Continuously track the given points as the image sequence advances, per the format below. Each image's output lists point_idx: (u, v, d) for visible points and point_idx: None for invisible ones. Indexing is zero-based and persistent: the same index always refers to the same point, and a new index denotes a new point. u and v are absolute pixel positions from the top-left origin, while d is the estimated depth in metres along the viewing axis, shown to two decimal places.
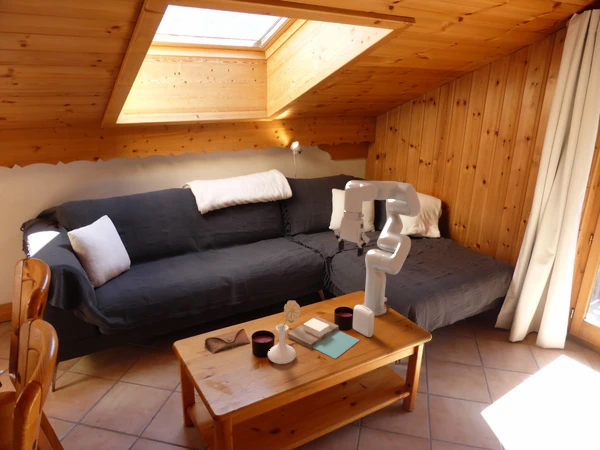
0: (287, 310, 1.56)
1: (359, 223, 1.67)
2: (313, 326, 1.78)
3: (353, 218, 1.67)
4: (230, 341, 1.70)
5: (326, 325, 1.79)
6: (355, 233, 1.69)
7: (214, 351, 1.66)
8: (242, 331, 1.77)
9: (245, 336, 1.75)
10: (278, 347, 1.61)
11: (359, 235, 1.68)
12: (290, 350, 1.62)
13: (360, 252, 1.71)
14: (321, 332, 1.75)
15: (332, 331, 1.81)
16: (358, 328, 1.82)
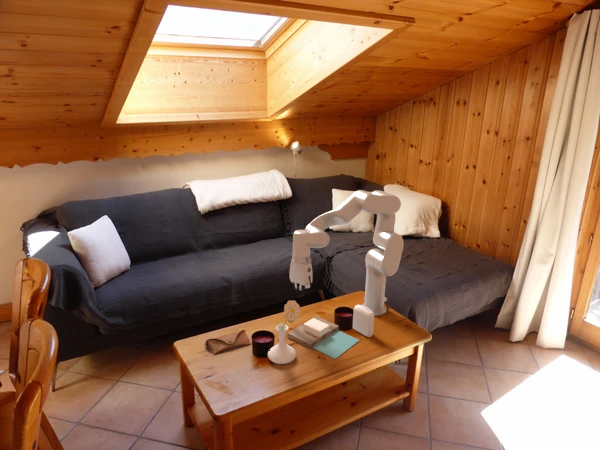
0: (287, 310, 1.56)
1: (306, 267, 1.74)
2: (313, 326, 1.78)
3: (300, 262, 1.73)
4: (231, 342, 1.69)
5: (326, 325, 1.79)
6: (303, 276, 1.75)
7: (215, 352, 1.65)
8: (243, 332, 1.76)
9: (246, 337, 1.74)
10: (278, 347, 1.61)
11: (306, 279, 1.75)
12: (290, 350, 1.62)
13: (300, 294, 1.80)
14: (321, 332, 1.75)
15: (332, 331, 1.81)
16: (358, 328, 1.82)
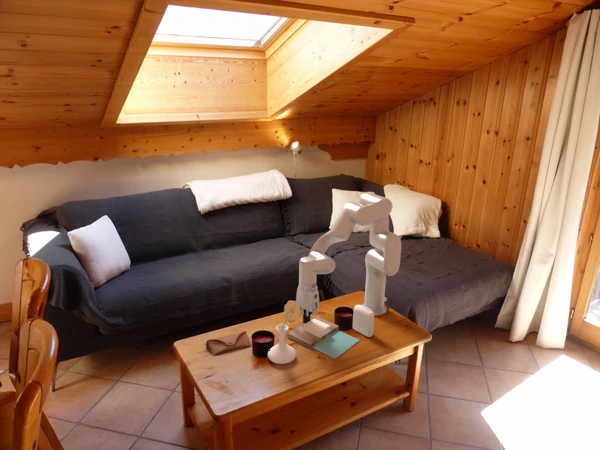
0: (287, 310, 1.56)
1: (313, 294, 1.75)
2: (314, 326, 1.77)
3: (307, 289, 1.74)
4: (231, 344, 1.68)
5: (327, 325, 1.78)
6: (309, 303, 1.76)
7: (214, 353, 1.65)
8: (244, 334, 1.75)
9: (247, 339, 1.73)
10: (278, 347, 1.61)
11: (313, 305, 1.76)
12: (290, 350, 1.62)
13: (307, 320, 1.81)
14: (322, 332, 1.75)
15: (332, 331, 1.81)
16: (358, 328, 1.82)
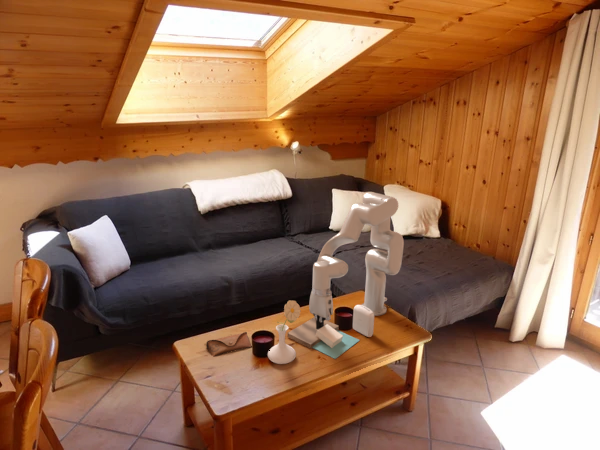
0: (287, 310, 1.56)
1: (327, 300, 1.70)
2: (327, 335, 1.73)
3: (321, 295, 1.70)
4: (231, 344, 1.68)
5: (340, 335, 1.74)
6: (323, 309, 1.71)
7: (214, 354, 1.64)
8: (244, 335, 1.74)
9: (247, 340, 1.72)
10: (278, 347, 1.61)
11: (327, 311, 1.71)
12: (290, 350, 1.62)
13: (320, 326, 1.77)
14: (334, 343, 1.71)
15: None
16: (358, 328, 1.82)
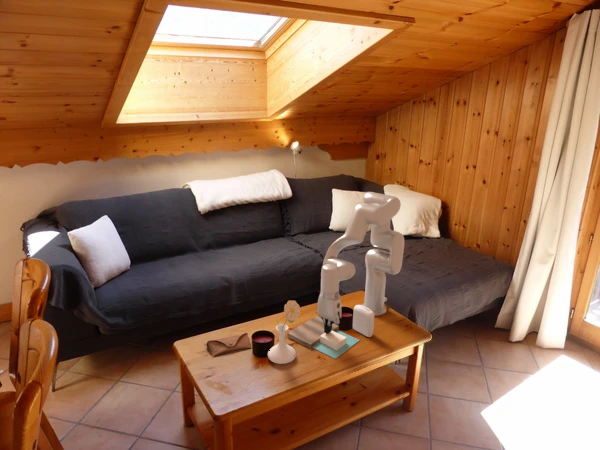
0: (287, 310, 1.56)
1: (335, 303, 1.67)
2: (330, 338, 1.72)
3: (329, 298, 1.67)
4: (231, 345, 1.67)
5: (343, 337, 1.73)
6: (332, 313, 1.69)
7: (214, 355, 1.64)
8: (245, 335, 1.74)
9: (247, 341, 1.72)
10: (278, 347, 1.61)
11: (336, 315, 1.68)
12: (290, 350, 1.62)
13: (328, 329, 1.74)
14: (338, 345, 1.69)
15: None
16: (358, 328, 1.82)
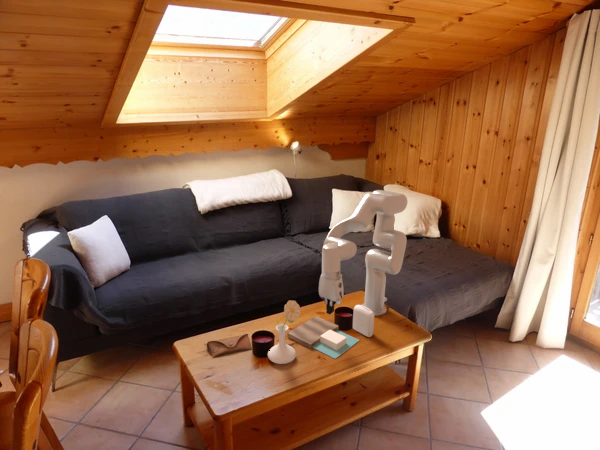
0: (287, 310, 1.56)
1: (337, 283, 1.65)
2: (330, 338, 1.72)
3: (331, 278, 1.64)
4: (231, 346, 1.67)
5: (343, 337, 1.73)
6: (333, 293, 1.66)
7: (214, 355, 1.64)
8: (245, 336, 1.73)
9: (248, 342, 1.71)
10: (278, 347, 1.61)
11: (338, 295, 1.66)
12: (290, 350, 1.62)
13: (331, 310, 1.72)
14: (338, 345, 1.69)
15: None
16: (358, 328, 1.82)
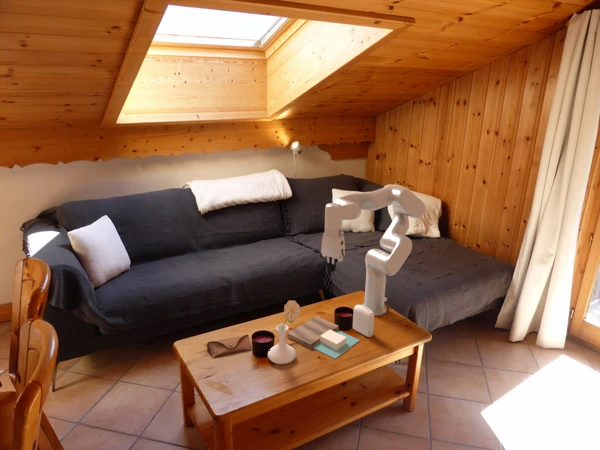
0: (287, 310, 1.56)
1: (339, 240, 1.73)
2: (330, 338, 1.72)
3: (333, 235, 1.73)
4: (231, 347, 1.66)
5: (343, 337, 1.73)
6: (336, 250, 1.74)
7: (214, 356, 1.63)
8: (246, 337, 1.72)
9: (248, 343, 1.70)
10: (278, 347, 1.61)
11: (339, 252, 1.74)
12: (290, 350, 1.62)
13: (332, 268, 1.79)
14: (338, 345, 1.69)
15: None
16: (358, 328, 1.82)
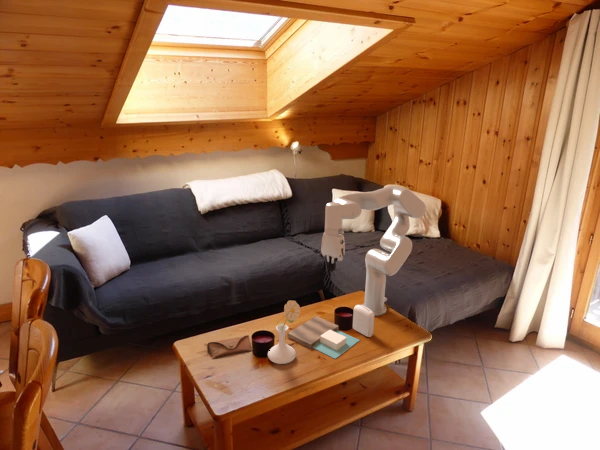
0: (287, 310, 1.56)
1: (339, 239, 1.73)
2: (330, 338, 1.72)
3: (333, 234, 1.73)
4: (231, 347, 1.66)
5: (343, 337, 1.73)
6: (335, 249, 1.74)
7: (214, 356, 1.63)
8: (246, 338, 1.72)
9: (248, 343, 1.70)
10: (278, 347, 1.61)
11: (339, 251, 1.74)
12: (290, 350, 1.62)
13: (332, 267, 1.80)
14: (338, 345, 1.69)
15: None
16: (358, 328, 1.82)
